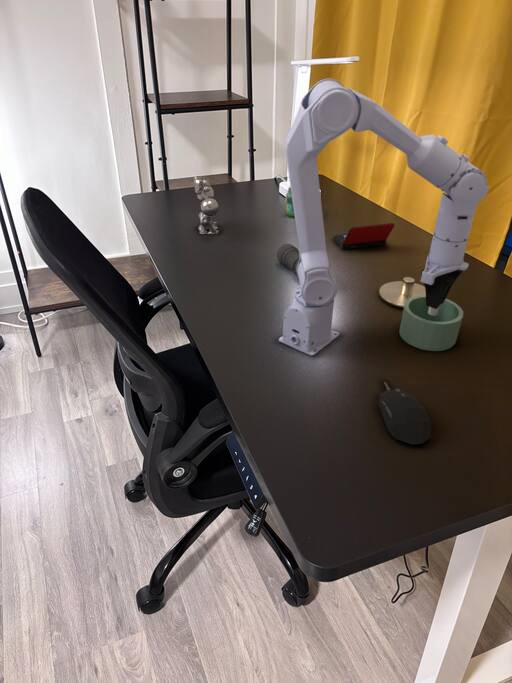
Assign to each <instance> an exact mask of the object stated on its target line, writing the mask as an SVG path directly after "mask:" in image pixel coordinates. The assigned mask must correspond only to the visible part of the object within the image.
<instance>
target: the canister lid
mask: <svg viewBox="0 0 512 683" xmlns="http://www.w3.org/2000/svg"><path fill="white" fill-rule="evenodd" d="M415 281H416V280H415V278H413V277H410V276H405V277H403V279H402V280H397V281H396V280H395V281H389V282H387V283H384V284H382V285H381V286H380V287H379V290H378V295H379V297H380V298H381V299H382V300H383V301H384V302H385V303H386V304H389V305H391V306H395V307H397V308H401V309H404V305H405V302H406V301H407V300H408V299H410V298H412V297H415V296H420V295H426V292H425V285H422V284H419V283H416V282H415Z"/></svg>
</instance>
